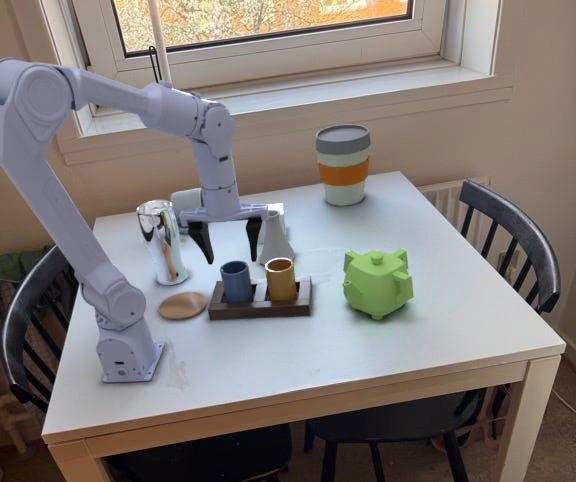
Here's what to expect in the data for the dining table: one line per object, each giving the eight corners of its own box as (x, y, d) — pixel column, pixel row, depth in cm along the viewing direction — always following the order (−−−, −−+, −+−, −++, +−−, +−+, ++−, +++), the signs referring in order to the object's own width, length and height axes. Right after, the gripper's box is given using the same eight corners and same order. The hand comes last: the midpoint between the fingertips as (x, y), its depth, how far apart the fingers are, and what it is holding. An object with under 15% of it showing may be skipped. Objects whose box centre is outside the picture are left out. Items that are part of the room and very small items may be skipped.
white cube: (286, 240, 119) (283, 214, 115) (259, 243, 119) (255, 217, 115) (285, 228, 123) (282, 202, 119) (259, 231, 124) (255, 205, 120)
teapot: (344, 289, 101) (341, 240, 95) (407, 286, 100) (409, 236, 94) (343, 326, 93) (341, 275, 86) (413, 323, 91) (415, 271, 85)
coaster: (202, 319, 99) (201, 317, 98) (153, 321, 100) (153, 319, 100) (210, 292, 105) (210, 290, 105) (165, 295, 107) (164, 293, 106)
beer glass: (183, 287, 108) (164, 214, 98) (150, 286, 110) (128, 214, 100) (194, 269, 113) (177, 198, 103) (163, 269, 115) (143, 199, 105)
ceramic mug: (178, 216, 135) (170, 185, 129) (211, 213, 134) (204, 182, 129) (170, 236, 127) (161, 204, 122) (205, 233, 126) (197, 201, 121)
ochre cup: (296, 308, 98) (292, 271, 93) (268, 309, 99) (263, 272, 94) (298, 293, 102) (294, 257, 97) (271, 294, 103) (266, 258, 98)
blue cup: (252, 310, 99) (246, 273, 94) (225, 311, 100) (217, 275, 95) (255, 295, 103) (249, 259, 98) (229, 297, 103) (222, 261, 99)
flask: (253, 265, 112) (246, 218, 105) (270, 249, 116) (264, 203, 110) (284, 270, 109) (278, 223, 102) (301, 253, 113) (296, 207, 107)
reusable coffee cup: (345, 183, 139) (342, 120, 130) (381, 195, 132) (382, 129, 122) (308, 200, 134) (302, 135, 124) (344, 213, 126) (341, 145, 116)
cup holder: (310, 315, 96) (309, 304, 95) (209, 320, 98) (207, 310, 97) (312, 285, 104) (311, 275, 102) (218, 290, 106) (216, 280, 104)
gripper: (266, 170, 89) (276, 246, 98) (179, 177, 91) (196, 252, 99) (261, 187, 84) (272, 266, 92) (169, 194, 85) (188, 271, 94)
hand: (232, 260), depth 96 cm, fingers open, 7 cm apart
